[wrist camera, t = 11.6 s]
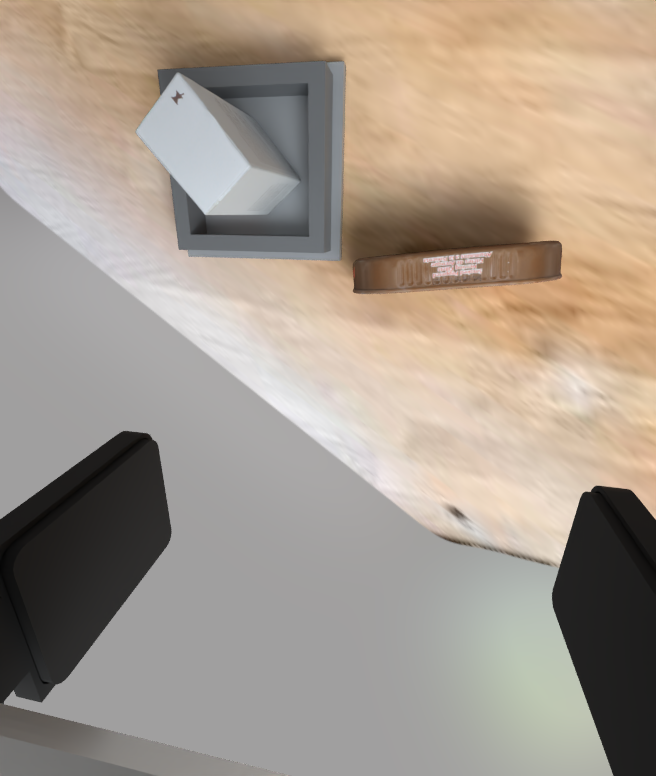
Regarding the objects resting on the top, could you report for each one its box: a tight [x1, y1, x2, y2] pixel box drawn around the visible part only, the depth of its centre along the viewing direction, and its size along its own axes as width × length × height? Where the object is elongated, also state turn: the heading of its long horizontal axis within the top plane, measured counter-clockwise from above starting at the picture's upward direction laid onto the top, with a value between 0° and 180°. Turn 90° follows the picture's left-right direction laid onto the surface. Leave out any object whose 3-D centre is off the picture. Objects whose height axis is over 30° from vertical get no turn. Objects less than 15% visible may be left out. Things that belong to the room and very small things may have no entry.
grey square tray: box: [158, 61, 346, 261], centre depth 33 cm, size 14×14×4 cm
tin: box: [353, 241, 562, 294], centre depth 31 cm, size 15×3×8 cm, turn 96°
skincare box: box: [136, 73, 301, 215], centre depth 29 cm, size 6×4×12 cm
